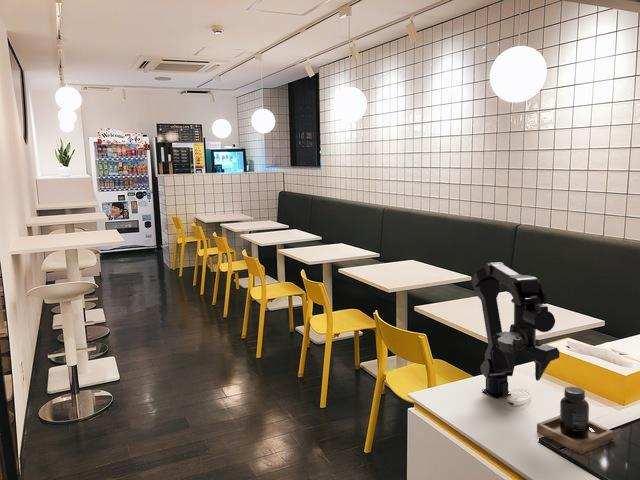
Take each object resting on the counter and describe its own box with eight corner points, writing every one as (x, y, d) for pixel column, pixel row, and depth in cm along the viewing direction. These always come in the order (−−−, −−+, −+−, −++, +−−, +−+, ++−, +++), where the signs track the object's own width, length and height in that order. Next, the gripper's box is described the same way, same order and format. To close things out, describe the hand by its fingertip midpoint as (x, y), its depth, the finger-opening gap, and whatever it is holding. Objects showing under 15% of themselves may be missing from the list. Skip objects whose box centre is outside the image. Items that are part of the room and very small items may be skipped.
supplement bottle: (591, 431, 136) (592, 388, 135) (584, 442, 131) (586, 397, 130) (563, 424, 141) (564, 382, 139) (556, 434, 135) (557, 391, 134)
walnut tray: (536, 432, 139) (537, 423, 138) (568, 420, 144) (569, 411, 144) (580, 454, 127) (580, 445, 127) (613, 440, 133) (613, 431, 133)
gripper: (478, 318, 148) (478, 370, 150) (532, 335, 131) (531, 393, 133) (506, 312, 153) (506, 362, 155) (561, 327, 136) (560, 383, 138)
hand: (524, 374), depth 145 cm, fingers open, 9 cm apart
